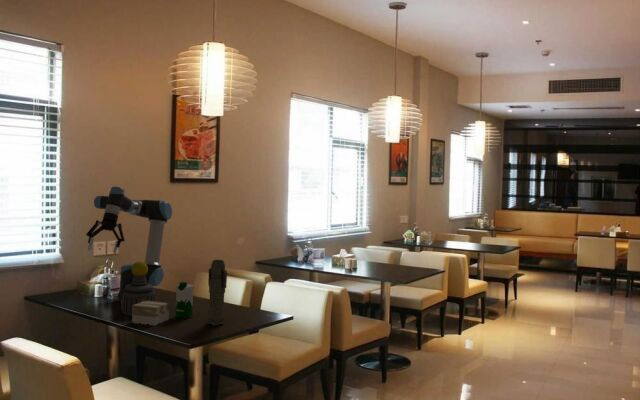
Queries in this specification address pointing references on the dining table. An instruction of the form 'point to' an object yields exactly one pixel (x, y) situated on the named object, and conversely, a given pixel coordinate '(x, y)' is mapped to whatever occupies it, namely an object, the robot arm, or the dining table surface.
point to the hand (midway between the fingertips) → (101, 251)
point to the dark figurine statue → (217, 291)
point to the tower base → (150, 319)
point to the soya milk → (184, 300)
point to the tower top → (150, 308)
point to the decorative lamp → (137, 289)
